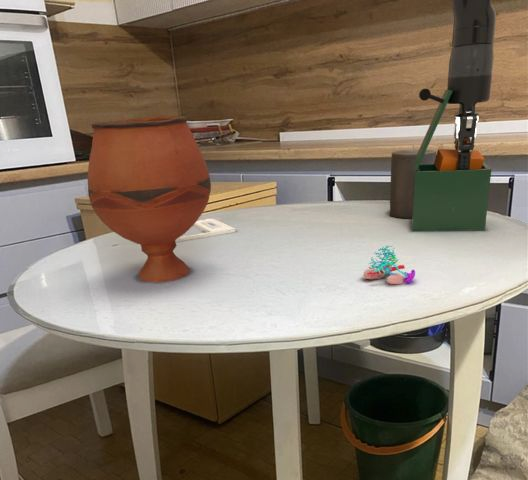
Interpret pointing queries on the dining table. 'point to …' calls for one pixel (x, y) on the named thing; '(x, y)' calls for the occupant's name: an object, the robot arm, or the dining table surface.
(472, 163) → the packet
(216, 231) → the photo frame
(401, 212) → the pillar candle
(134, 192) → the goblet
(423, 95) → the bin lid
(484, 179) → the bin
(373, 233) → the dining table surface
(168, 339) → the dining table surface
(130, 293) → the dining table surface
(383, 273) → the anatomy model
